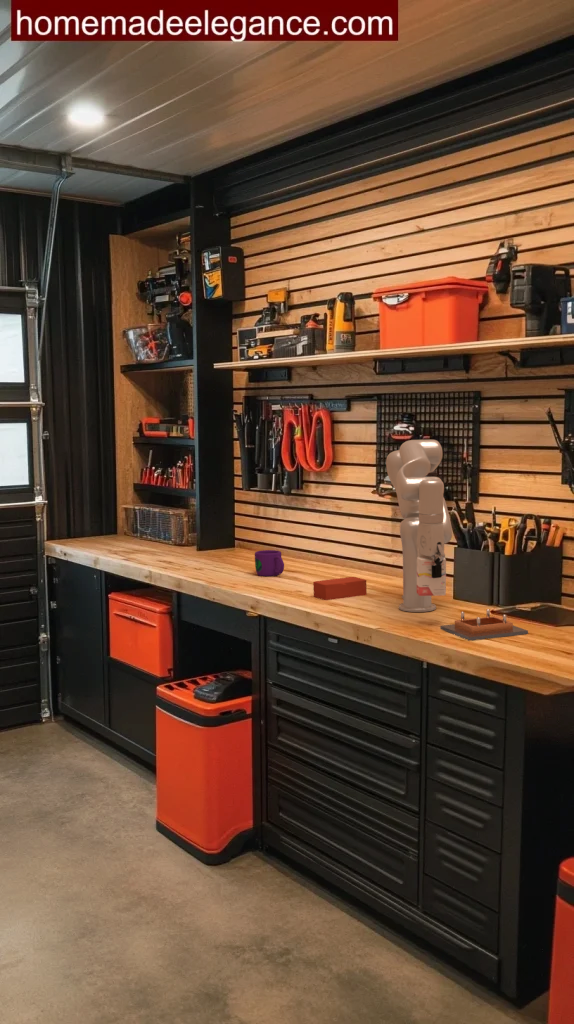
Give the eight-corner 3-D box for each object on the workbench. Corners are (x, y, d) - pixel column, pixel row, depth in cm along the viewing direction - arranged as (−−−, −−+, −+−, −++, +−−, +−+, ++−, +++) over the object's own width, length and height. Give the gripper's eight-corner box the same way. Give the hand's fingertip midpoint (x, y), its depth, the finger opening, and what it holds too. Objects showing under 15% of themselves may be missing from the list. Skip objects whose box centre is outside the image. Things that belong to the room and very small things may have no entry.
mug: (250, 574, 390) (249, 551, 389) (272, 571, 396) (271, 549, 395) (272, 579, 376) (271, 556, 375) (294, 576, 382) (294, 553, 381)
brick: (353, 592, 346) (353, 576, 345) (367, 595, 338) (366, 579, 337) (313, 597, 337) (312, 581, 336) (325, 601, 329) (325, 584, 328)
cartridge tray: (440, 628, 279) (440, 611, 279) (496, 622, 286) (496, 605, 285) (469, 640, 263) (469, 622, 263) (528, 633, 270) (528, 615, 269)
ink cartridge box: (419, 596, 283) (419, 550, 282) (416, 593, 288) (416, 547, 286) (446, 595, 284) (446, 549, 282) (443, 592, 289) (443, 546, 287)
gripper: (407, 516, 290) (407, 572, 292) (434, 523, 274) (434, 581, 276) (428, 515, 292) (428, 570, 295) (455, 521, 276) (455, 579, 278)
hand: (431, 575), depth 285 cm, fingers closed on ink cartridge box, 6 cm apart
